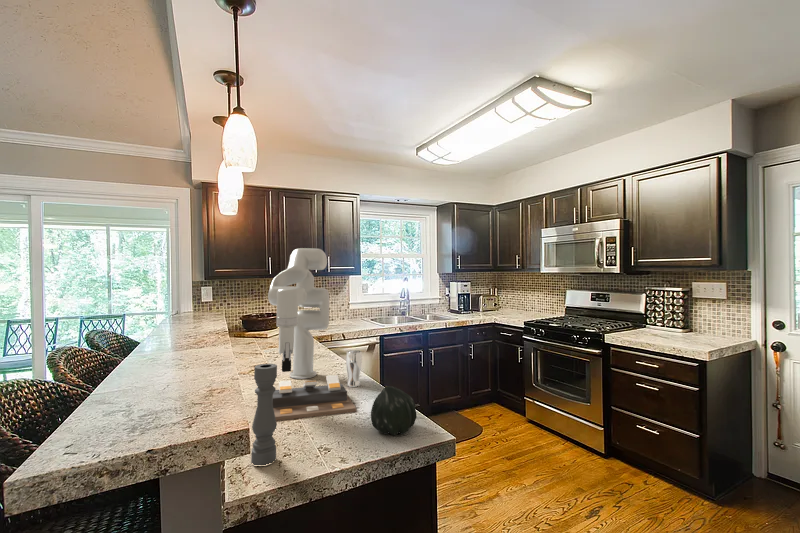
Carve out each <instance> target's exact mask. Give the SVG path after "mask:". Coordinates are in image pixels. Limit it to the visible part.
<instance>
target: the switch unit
mask: <svg viewBox="0 0 800 533" xmlns="http://www.w3.org/2000/svg"><path fill="white" fill-rule="evenodd" d="M340 387H341V389H340V390H333V391H329V389H328V384H325V385H316V386H315V387H306V388H303V386H301V387H292V392H288V393H279V389H276V390H275V392H274V393H273V409H274V414H275V418H276V422H277V421H284V420H292V419H293V420H294V419H302V418H310V417H311V418H313V417H319V416H327V415H328V416H329V415H337V414H344V413H345V414H347V413H354V412H355V413H357V407H356V406H355V404H354V402H352V400H351V398H350V397H349V395H348V391H347V389H346V388H345V386H344V385H343V383H340Z"/></svg>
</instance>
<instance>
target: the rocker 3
mask: <svg viewBox="0 0 800 533" xmlns="http://www.w3.org/2000/svg"><path fill="white" fill-rule="evenodd" d="M338 375H339V374H329V375H326V376H325V377H326V378H325V379H326V383H327V384H326V385H328V389H329V391H333V390H340V389H341V387H340V384H341V382H340V379H339V376H338Z"/></svg>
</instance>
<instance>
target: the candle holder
mask: <svg viewBox="0 0 800 533" xmlns="http://www.w3.org/2000/svg"><path fill="white" fill-rule="evenodd" d="M253 368H254V373H253V374H254V377H253V378H254V379H253V380H254V382H255V384H256V388H255V389H254V393H255V394H256V396H257V399H256V400H257V401H256V403H257V405H256V410H255V413H254V418H253V421H252V426H251V428H252V429H251V430H252V432H253V433H254V436H255V439H254V441H253V443H252V448H251V453H250V454H251V459H250V464H251V463H253V464H254V465H266V464H269V463H272V462H273V461H275V459H276V460H277V444H276V439H275V438H274V437H273V435H274V432H275V431H276V429H277V427H278V425H277V424H278V423H277V421H276V418H275V414H274V409H273V393H274V392H275V390H277V389H276V386H274V385H275V382H276V379H277V378H278V365H277V364H276V363H261V364H257V365H255V366H254V367H253ZM275 462H276V461H275Z"/></svg>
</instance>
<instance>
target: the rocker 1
mask: <svg viewBox="0 0 800 533" xmlns="http://www.w3.org/2000/svg"><path fill="white" fill-rule="evenodd" d="M278 388H279V389H278V390H279V393H288V392H292V388H293V387H292V380H291V379H290V380H281V381H278Z"/></svg>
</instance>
